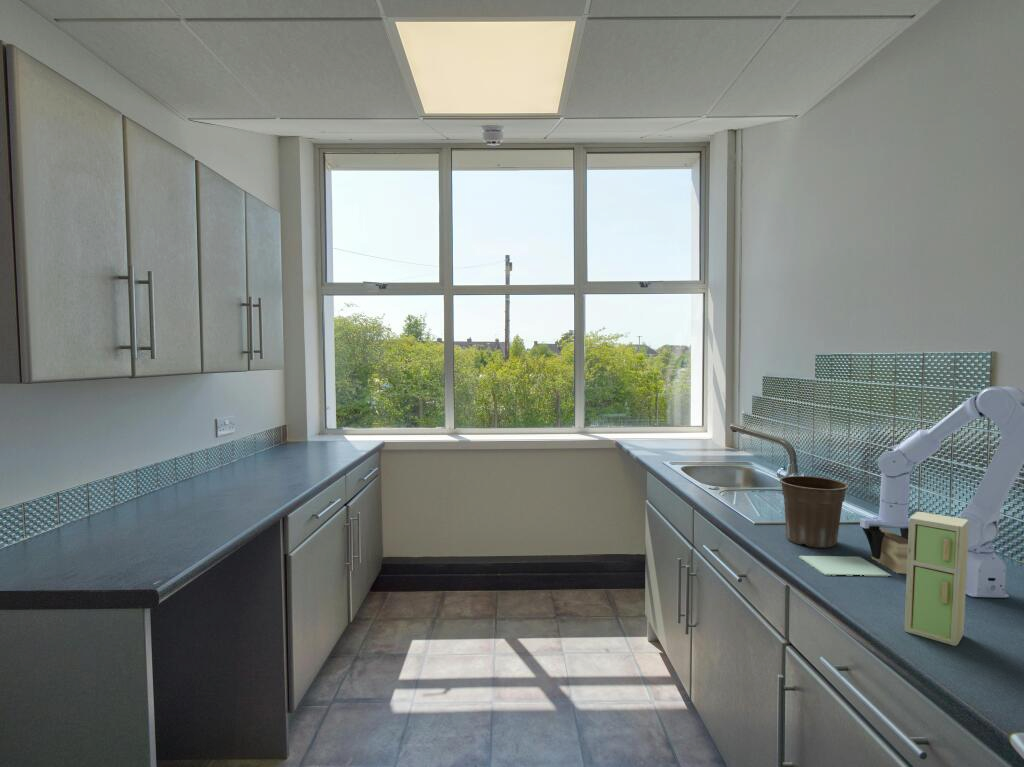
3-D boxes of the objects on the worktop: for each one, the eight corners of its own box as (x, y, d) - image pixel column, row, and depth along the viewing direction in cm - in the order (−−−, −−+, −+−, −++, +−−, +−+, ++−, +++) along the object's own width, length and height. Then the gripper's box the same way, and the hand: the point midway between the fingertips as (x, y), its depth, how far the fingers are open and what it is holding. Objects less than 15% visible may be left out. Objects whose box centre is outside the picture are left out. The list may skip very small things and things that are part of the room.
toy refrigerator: (901, 632, 108) (907, 517, 107) (911, 620, 113) (917, 510, 112) (955, 648, 102) (963, 527, 101) (963, 635, 108) (970, 519, 107)
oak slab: (911, 574, 138) (913, 542, 138) (897, 573, 138) (899, 541, 138) (883, 559, 148) (885, 529, 148) (871, 558, 148) (872, 528, 148)
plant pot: (803, 552, 151) (806, 489, 151) (764, 533, 167) (767, 476, 166) (859, 549, 155) (863, 487, 154) (816, 531, 170) (819, 475, 170)
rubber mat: (890, 576, 136) (890, 574, 136) (824, 575, 136) (824, 573, 136) (859, 558, 148) (859, 556, 148) (798, 557, 148) (798, 555, 148)
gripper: (913, 497, 146) (909, 552, 147) (853, 496, 146) (851, 551, 147) (933, 505, 139) (930, 562, 140) (871, 504, 139) (868, 561, 140)
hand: (890, 557), depth 143 cm, fingers open, 7 cm apart
